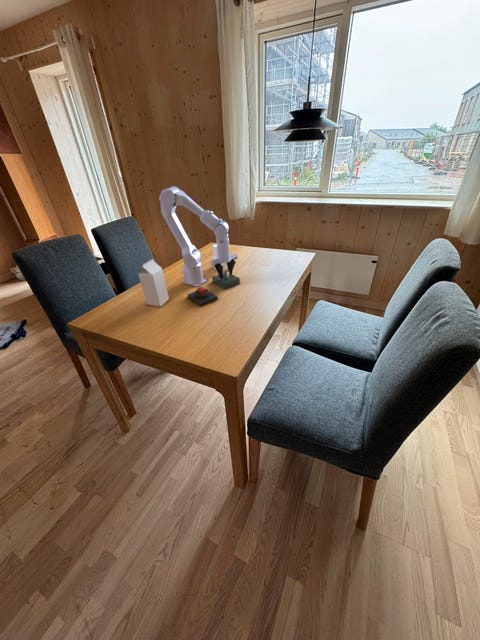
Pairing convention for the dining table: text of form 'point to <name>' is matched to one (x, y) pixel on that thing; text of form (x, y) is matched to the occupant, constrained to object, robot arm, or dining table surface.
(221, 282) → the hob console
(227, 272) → the hob knob
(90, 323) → the dining table surface
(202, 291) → the button
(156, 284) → the milk carton
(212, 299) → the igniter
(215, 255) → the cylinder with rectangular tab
